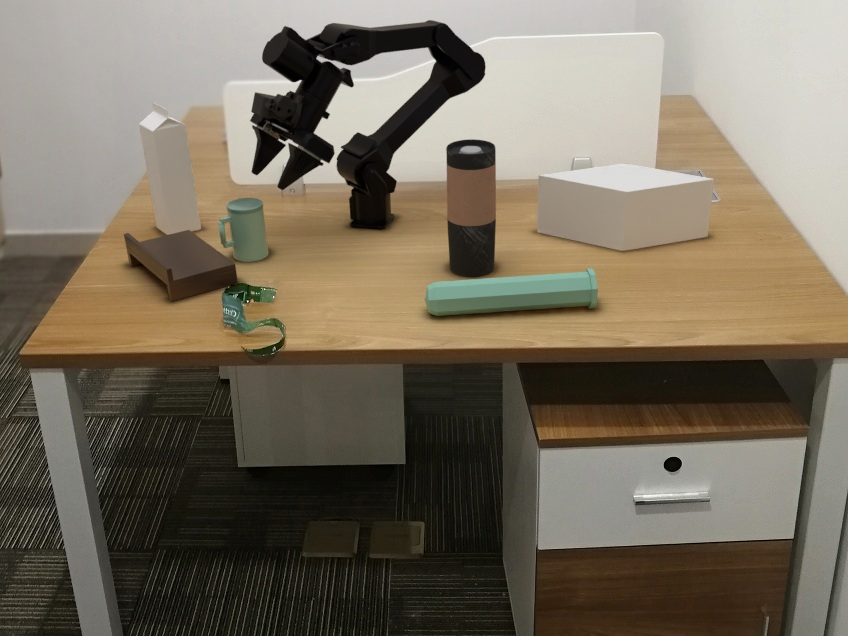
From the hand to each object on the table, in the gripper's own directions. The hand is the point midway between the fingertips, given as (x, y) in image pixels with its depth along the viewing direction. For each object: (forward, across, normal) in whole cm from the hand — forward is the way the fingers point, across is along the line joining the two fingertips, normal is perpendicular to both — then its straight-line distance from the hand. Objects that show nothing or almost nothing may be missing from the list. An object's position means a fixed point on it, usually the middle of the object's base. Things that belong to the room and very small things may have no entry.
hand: (266, 181), depth 167 cm
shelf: (+20, 0, -5) cm, 20 cm away
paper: (-22, +32, +47) cm, 61 cm away
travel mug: (-4, +27, +24) cm, 37 cm away
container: (-1, +42, +21) cm, 47 cm away
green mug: (+12, 0, +4) cm, 13 cm away
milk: (+15, -19, 0) cm, 24 cm away
